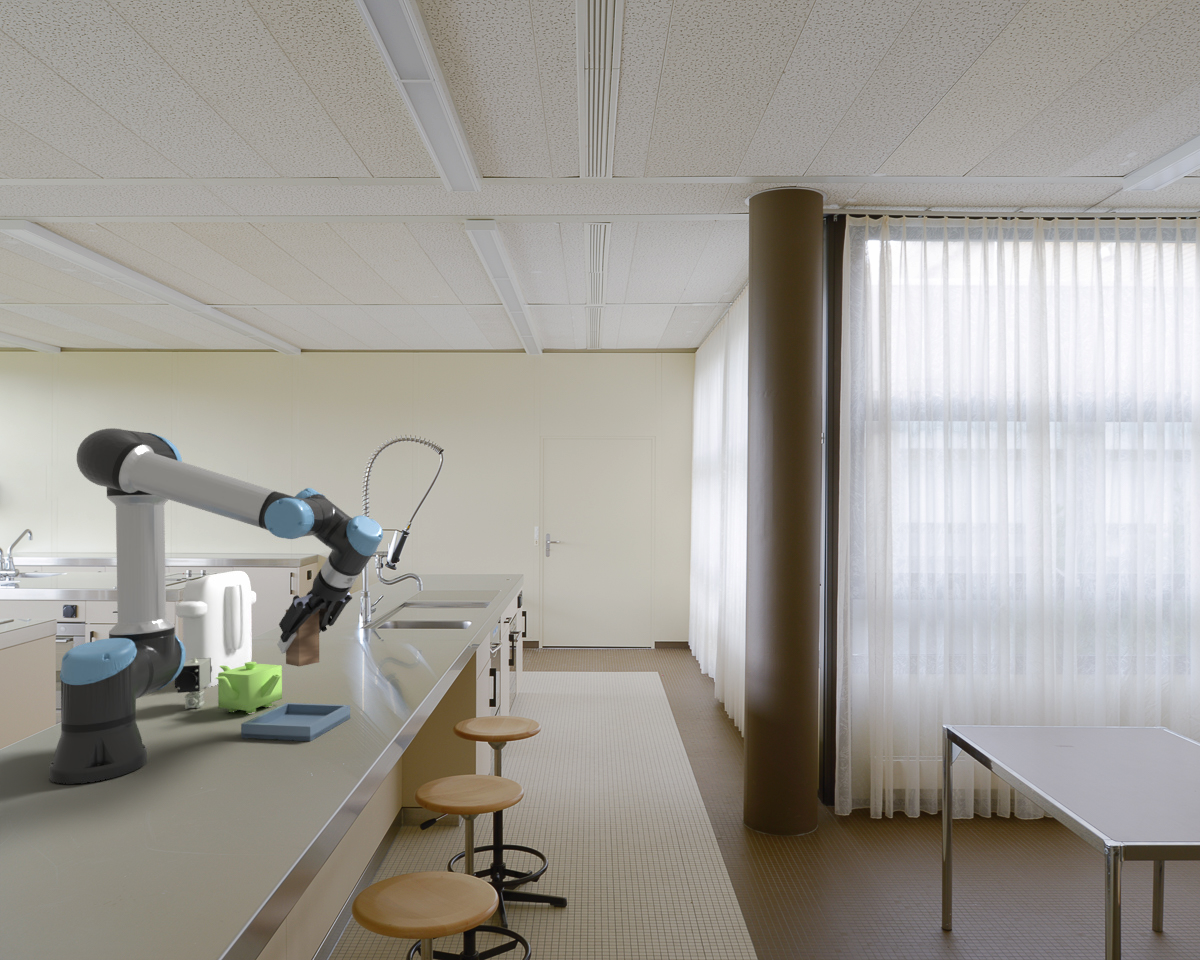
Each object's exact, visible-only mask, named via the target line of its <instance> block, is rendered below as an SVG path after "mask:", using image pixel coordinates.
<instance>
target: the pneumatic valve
mask: <svg viewBox="0 0 1200 960" xmlns="http://www.w3.org/2000/svg"><path fill="white" fill-rule="evenodd" d="M211 672H212V667H211V658H199V659H197V657H194V658H193V659H190V660H188V661H187V662H185V663H184V666H183V669H182V671H181V672H180V674H179V675H178V676H177V677H176V678H175V679H174V689H177V693H178V694H181V693H183V694H184V693H187V694H185V696H184V698H185V706H184V708H185V710H188V709H195V708H196V709H201V707H202V706H204V705H205V702H206V701H204V700H205V696H204V695H205V690H203V689H205V688H204V687H205V686H207V685H208V684H209V683H211Z"/></svg>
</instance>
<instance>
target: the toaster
mask: <svg viewBox="0 0 1200 960" xmlns="http://www.w3.org/2000/svg"><path fill="white" fill-rule="evenodd" d="M249 577H250V576H248V574H247V573H246V572H245V571H243V570H231V571H226V572H219V573H218V572H217V573H212V574H207V575H204V576H202V577H200V578H196V579H194V580H187V581H186V582H185V585H184V588H183V594H182V601H180V602H178V603H177V604H176V606H175V615H176V617H178V618H181V619H182V643H183V645H184V647H185V652H186V659H185V662H187V661H188V660H190V659H193V658H194V657H197V659H199V658H211V667H212V672H211V683H209V684H208V685H207V686H205V687H204V688H203V689H207V688H206V687H209V688H212V687H211V686H213V687H216V686H218V685H217V684H218V679H216V677H218V673H220V672H224V670H223V669H222V668H221V667H219V666H228V667H229V668H230V669H234V668H238V667H241V666H245V663H247V662H252V659H253V657H252V655H253V653H252V652H253V645H252V644H253V643H252V642H253V641H252V640H253V639H252V637H253V635H252V630H253V629H252V627H253V626H252V622H253V621H252V619H253V618H252V617H253V616H252V605H254V604H255V603H256V602H257V593H256V592H255V591H254V590H252V585H251V579H250V578H249ZM215 685H216V686H215Z"/></svg>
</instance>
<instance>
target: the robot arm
mask: <svg viewBox="0 0 1200 960" xmlns="http://www.w3.org/2000/svg"><path fill="white" fill-rule="evenodd" d="M76 464H77V468H78V470H79V472H80V473H81V474H82V475H83V477H84V478H86V480H88V481H89V482H90V483H93V484H95V485H97V486H101V487H106V498H107V499H108V500H109V501H110V502H111V503H112V504H113V505H114V506H115V529H116V531H115V532H116V533H115V534H116V535H115V537H116V538H115V539H116V545H115V546H116V591H117V592H116V595H117V596H116V599H117V600H116V603H117V608H116V609H117V622H116V624H115V625H113V627H111V629H110V630H109V631H108V638H103V639H98V640H95V641H89V642H85V643H82V644H80V645H76V646H75V647H72V648H70V649H69V650H68V651H67V652H65V653H64V655H63V657H62V659H61V665H60V666H61V668H60V671H59V672H60V673H59V678H60V707H61V708H60V720H61V721H60V724H61V726H60V727H61V729H60V730H61V731H60V736H59V737H60V738H58V739H59V740H58V743H57V745H56V749H55V753H54V756H53V757H54V758H53V760H52V761H51V762H50V765H49V767H48V768H49V773H48V774H49V775H48V776H49V778H50V779H49V781H50V782H52V781H53V782H52V783H54V782H57V783H56V784H59V783H63V784H62V785H75V784H74V783H81V784H88V783H87V782H90V783H94V782H95V781H96V782H101V781H106V780H110V779H113V778H114V779H115V778H117V777H121V776H124V775H126V774H130V773H132V772H134V771H136V770H138V769H140V768H141V767H143V766H144V765H145V764H146V763H147V761H148V759H147V757H148V755H147V754H148V752H147V747H146V745H145V744H143V739H142V736H141V732H140V730H139V727H138V724H137V713H136V711H137V708H136V707H137V699H139V698H141V697H143V696H146V695H148V694H151V693H154V692H157V691H160V690H161V689H164V688H165V687H166V686H168V684H171V683H172V682H173V681H175V678H176V677H177V676H178V675H179V674H180V672H181V671H182V669H183V666H184V663H185V659H186V652H185V647H184V645H183V640H180V639H179V637H178V636H177V635H176V629H175V628H176V627H175V624H174V622H172V621H171V620H170V619H168V617H167V598H166V597H167V595H166V594H167V592H166V591H167V587H166V586H167V585H166V544H165V543H166V540H165V539H166V538H165V535H166V533H165V532H166V531H165V527H166V526H165V505H166V503H167V502H168V501H172V502H176V503H178V504H182V505H186V506H188V507H192V508H196V509H198V510H201V511H205V512H209V513H212V514H215V515H218V516H221V517H225V518H228V519H232V520H235V521H238V522H241V523H244V524H247V525H250V526H254V527H257V528H261V529H263V530H266V531H269V532H270V534H272V535H274V537H277V538H281V539H287V540H295V539H298V538H303V537H311V536H313V537H315V538H316V539H317V540H319V541H320V542H321V543H322V544H324V545H325V546H326V547H328V548H329V549H331V552H330V553H329V554H328V556H327V558H326V559H325V561H324V563H323V564H322V565H321V568H320V570H319V571H318V572H317V574H316V575H315V577H314V578H313V583H312V586H311V589H310V590H309V591H308V592H307V593H306V595H304V596H301V597H300V596H299V595H294V596H292V597H293V598H292V603H291V605H290V606H289V607H288V611H287V612H286V611H285V614H284V616H283V617H282V619H281V620H280V622H279V624H278V626H279V627H280V630H281V631H282V633H281V635H280V636H279V637H280V639H279V641H278V642H277V647H278V649H279V650H280V652H281V653H280V654H286V651H287V649H288V648H289V646H290V645H291V643H292V641H293V640H294V638H295V637H296V635H297V633H296V631H297V630H298V629H299V628H300V627H301V625H302V624H303V623H304V622H305V621H306V620H307V619H308V618H309V617H310V616H311V615H312V614H315V613H316V612H317V611H318V610H319V634H320V633H321V632H326V631H327V630H328V628H327V626H328V627H332V626H333V625H334V624H335V622H336V621H337V619H338V618H339V617H340V615H341V614H342V612H343V610H344V609H345V607H346V605H347V604H348V603H350V602H351V600H353V596H352V594H351V593H350V591H351V589H352V587H353V585H354V584H355V583H356V581H357V579H358V578H359V576H360V574H361V573H362V572H363V570H364V569H365V567H366V566H367V565H368V563H369V562H370V560H371V559H372V558H373V556H374V554H376V552H377V549H378V547H379V546H380V544H381V542H382V540H383V538H384V530H383V528H382V526H381V525H380V524H379V522H377V521H376V520H375V519H373V518H369V517H368V516H367V515H356V516H353V517H351V516H349V515H348V514H347V513H346V512H344V511H343V510H342V509H340V508H339V507H338V506H337V505H335V504H334V503H333V502H332V501H330V500H329V499H328V498H327V497H326V495H324V494H323V493H320V492H319V491H317V490H316V489H314V488H313V487H306V488H305V489H303V490H301V491H299V492H298V493H297V494H296V495H295V496H293V495H289V494H286V493H283V492H278V491H277V490H273V489H270V488H266V487H263V486H260V485H257V484H253V483H250V482H247V481H245V480H241V479H238V478H235V477H232V476H228V475H225V474H222V473H219V472H215V471H213V470H210V469H209V470H208V469H206V468H202V467H200V466H196V465H194V464H189V463H187V462H183V459H182V455H181V453H180V451H179V449H178V448H177V446H176V445H175V444H174V443H173V442H171V441H170V440H169V439H168V438H166V437H163V436H160V435H157V434H155V433H152V432H144V431H135V430H134V431H133V430H128V429H122V428H114V427H113V428H104V429H99V430H96V431H94V432H92V433H90V434H88V436H87V437H85V438H84V439H83V440H82V442H81V443H80V444H79V447H77V453H76ZM105 779H106V780H105ZM100 780H101V781H100ZM65 783H66V784H65Z"/></svg>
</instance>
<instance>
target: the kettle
mask: <svg viewBox="0 0 1200 960" xmlns="http://www.w3.org/2000/svg"><path fill="white" fill-rule="evenodd" d="M219 667H221V668H222V669H223V670H224V672H220V673H218V677H216V679H218V685H217V689H218V690H217V692H218V693H217V696H218V697H217V700H218V701H217V703H218V704H217V706H218V708H219V709H227V710H228V711H229V712H233V711H237V710H238V711H245V714H246V713H252V712H255V711H256V712H257V708H260V707H262V708H263V707H269V706H272V705H273V704H272V703H274V702H276V701H280V700H282V699H283V666H282V665H281V664H280V665H279V664H267V663H257V661H251V662H247V663H245V666H241V667H238V668H234V669H230V668H229V667H228V666H219ZM238 711H237V712H238ZM233 713H234V712H233Z"/></svg>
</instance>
